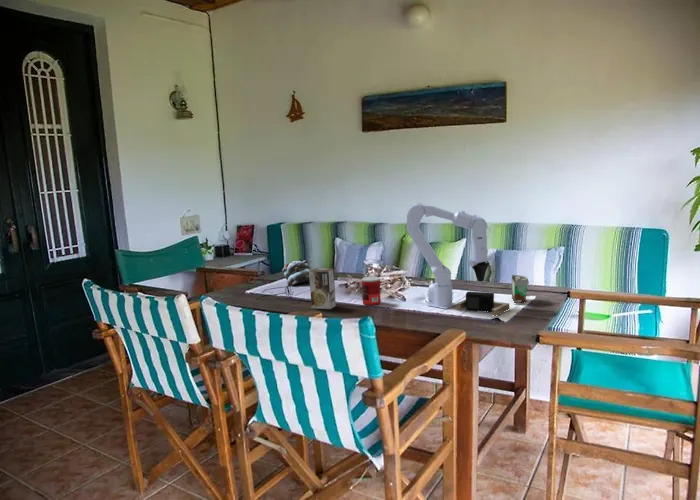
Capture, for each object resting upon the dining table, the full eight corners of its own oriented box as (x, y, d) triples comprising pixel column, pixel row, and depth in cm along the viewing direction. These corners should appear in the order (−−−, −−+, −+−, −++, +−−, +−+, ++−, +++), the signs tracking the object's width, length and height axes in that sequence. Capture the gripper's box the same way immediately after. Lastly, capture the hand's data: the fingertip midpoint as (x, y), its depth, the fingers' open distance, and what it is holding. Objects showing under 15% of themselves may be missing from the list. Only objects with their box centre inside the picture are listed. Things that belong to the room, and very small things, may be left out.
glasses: (287, 299, 241) (285, 289, 240) (255, 304, 241) (253, 293, 240) (291, 292, 255) (289, 282, 254) (261, 296, 255) (259, 286, 255)
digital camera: (464, 311, 208) (464, 294, 207) (467, 308, 213) (467, 291, 212) (492, 313, 204) (492, 295, 203) (493, 309, 209) (494, 292, 208)
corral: (456, 309, 210) (456, 303, 210) (471, 303, 218) (471, 297, 218) (495, 316, 199) (495, 309, 198) (509, 310, 207) (509, 303, 206)
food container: (530, 305, 213) (530, 281, 211) (514, 305, 214) (514, 281, 212) (526, 297, 224) (526, 274, 223) (511, 297, 226) (511, 274, 224)
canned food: (383, 301, 228) (382, 276, 226) (376, 306, 220) (375, 280, 219) (367, 300, 231) (366, 276, 229) (359, 305, 224) (358, 279, 222)
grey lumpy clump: (285, 287, 264) (277, 261, 267) (290, 291, 275) (282, 266, 279) (313, 277, 264) (305, 251, 267) (317, 281, 276) (309, 257, 279)
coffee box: (336, 305, 225) (334, 268, 222) (330, 309, 219) (329, 271, 216) (316, 304, 228) (314, 267, 225) (310, 308, 222) (308, 270, 219)
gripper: (479, 251, 203) (479, 285, 205) (497, 245, 213) (498, 278, 215) (463, 249, 208) (464, 283, 210) (482, 244, 218) (483, 276, 220)
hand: (480, 281), depth 213 cm, fingers closed
